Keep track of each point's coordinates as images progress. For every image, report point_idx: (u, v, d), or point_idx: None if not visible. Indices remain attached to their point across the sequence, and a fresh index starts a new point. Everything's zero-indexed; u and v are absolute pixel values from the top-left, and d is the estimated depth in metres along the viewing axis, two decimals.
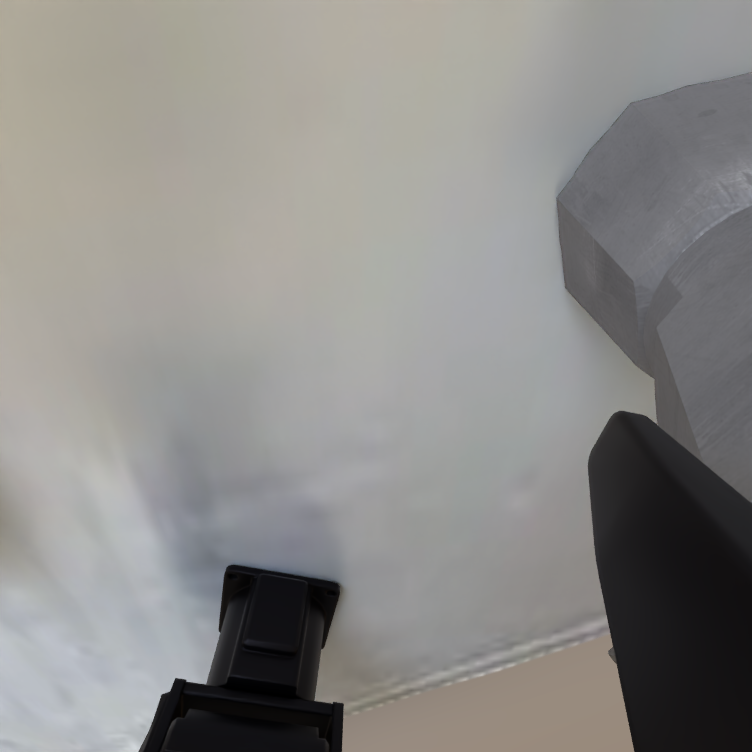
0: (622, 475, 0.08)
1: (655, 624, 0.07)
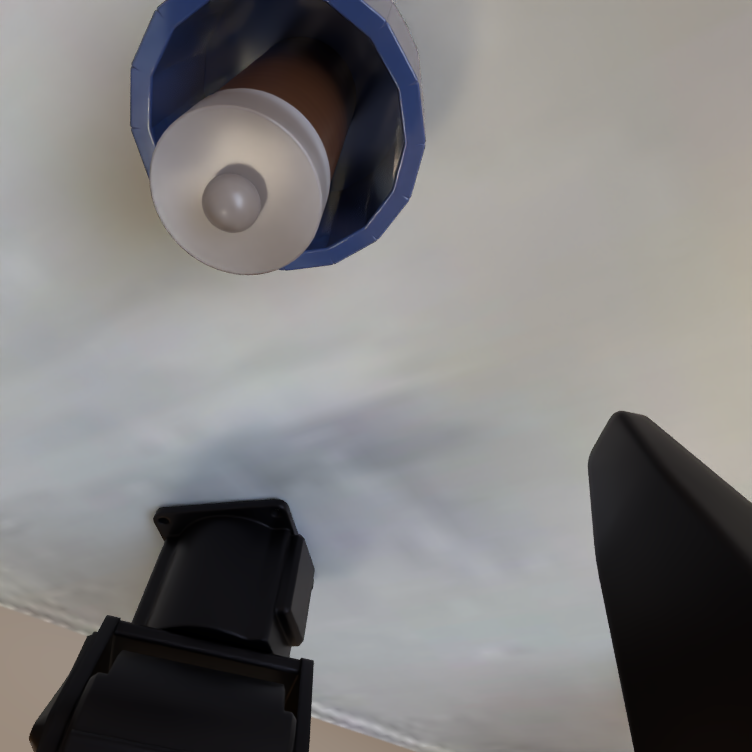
0: (622, 475, 0.08)
1: (655, 624, 0.07)
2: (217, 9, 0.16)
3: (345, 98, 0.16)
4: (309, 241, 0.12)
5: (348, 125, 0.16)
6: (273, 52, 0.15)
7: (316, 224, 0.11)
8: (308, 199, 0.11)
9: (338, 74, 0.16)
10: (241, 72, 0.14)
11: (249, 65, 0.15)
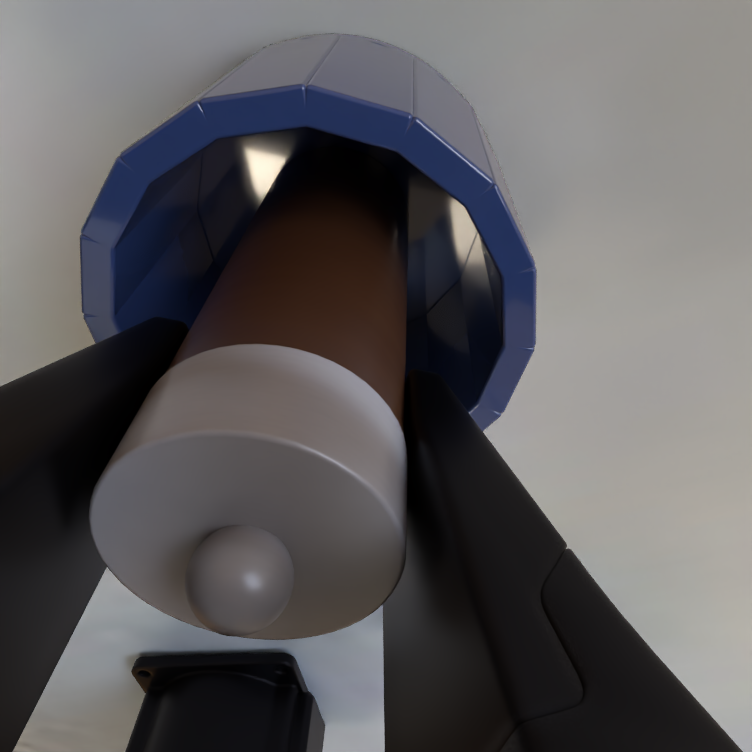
0: None
1: (402, 580, 0.07)
2: None
3: (404, 253, 0.11)
4: (376, 607, 0.07)
5: None
6: (301, 192, 0.10)
7: (391, 589, 0.06)
8: (381, 560, 0.06)
9: (393, 215, 0.11)
10: (254, 248, 0.09)
11: (265, 219, 0.10)
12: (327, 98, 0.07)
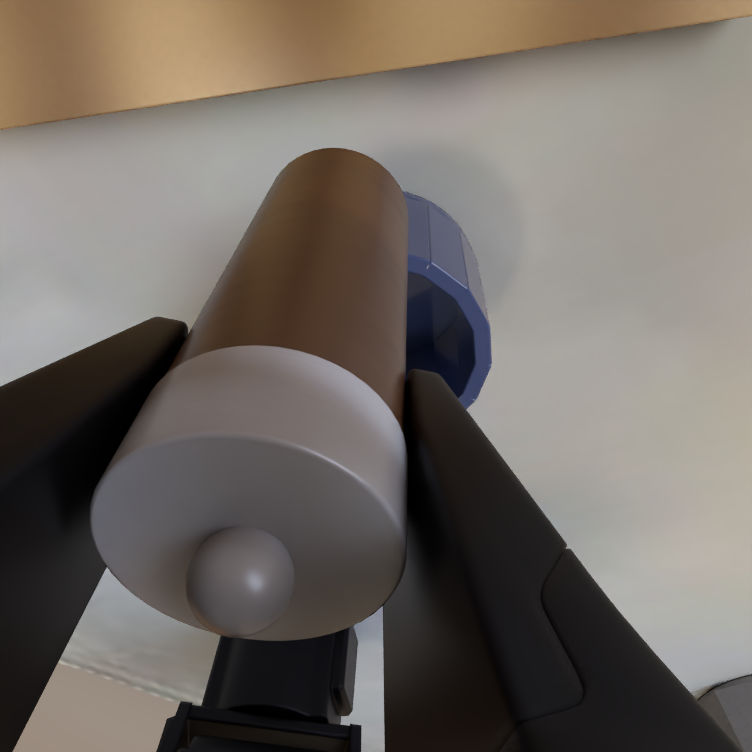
0: None
1: (402, 580, 0.07)
2: None
3: (404, 254, 0.11)
4: (376, 608, 0.07)
5: None
6: (301, 193, 0.10)
7: (391, 590, 0.06)
8: (381, 562, 0.06)
9: (393, 216, 0.11)
10: (255, 249, 0.09)
11: (265, 220, 0.10)
12: None
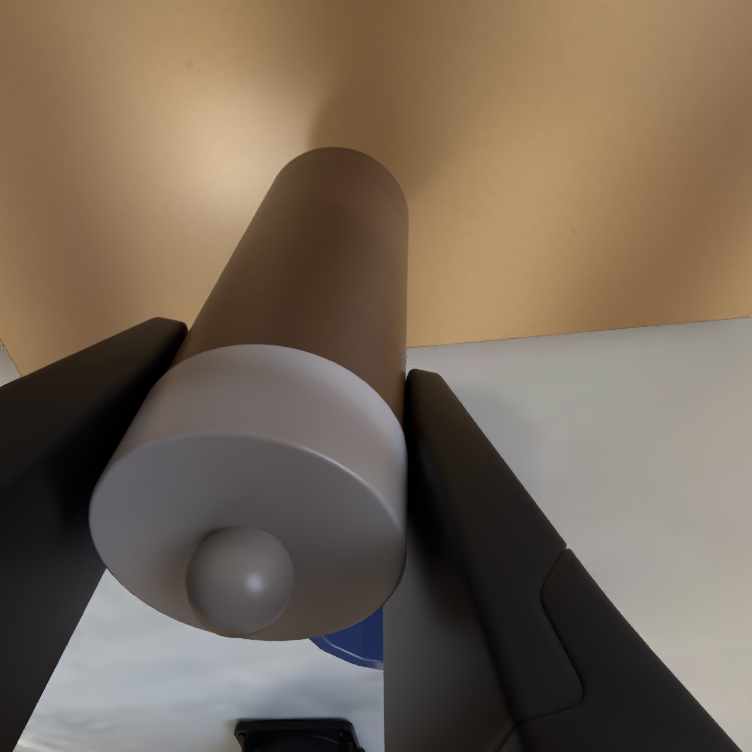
0: None
1: (402, 580, 0.07)
2: None
3: (404, 253, 0.11)
4: (376, 608, 0.06)
5: None
6: (301, 192, 0.10)
7: (392, 590, 0.06)
8: (381, 562, 0.06)
9: (393, 215, 0.11)
10: (254, 248, 0.09)
11: (265, 219, 0.10)
12: None
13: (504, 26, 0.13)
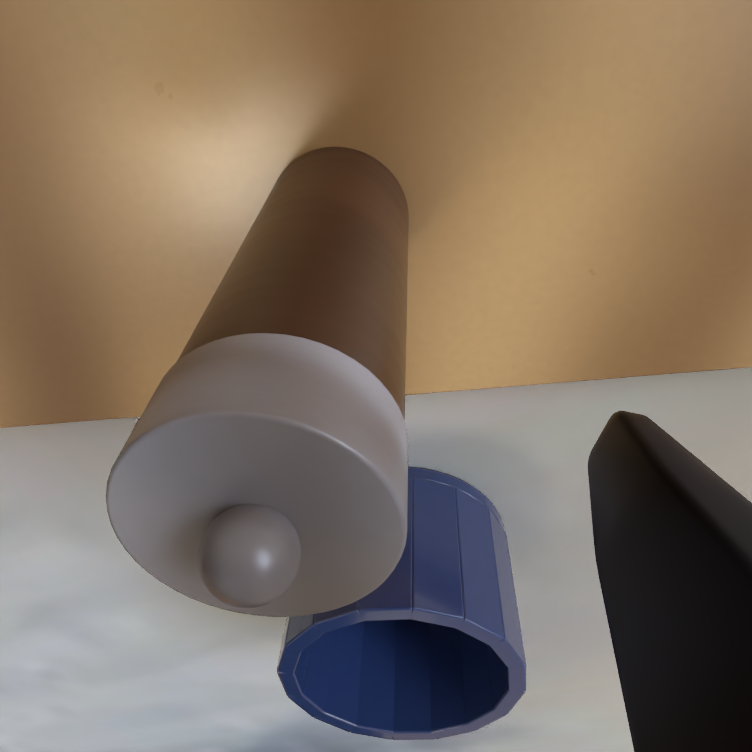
0: (622, 475, 0.08)
1: (655, 624, 0.07)
2: None
3: (404, 250, 0.11)
4: (378, 584, 0.07)
5: None
6: (304, 190, 0.10)
7: (393, 566, 0.07)
8: (382, 538, 0.06)
9: (394, 213, 0.11)
10: (260, 244, 0.09)
11: (270, 216, 0.10)
12: (422, 612, 0.15)
13: (516, 48, 0.11)
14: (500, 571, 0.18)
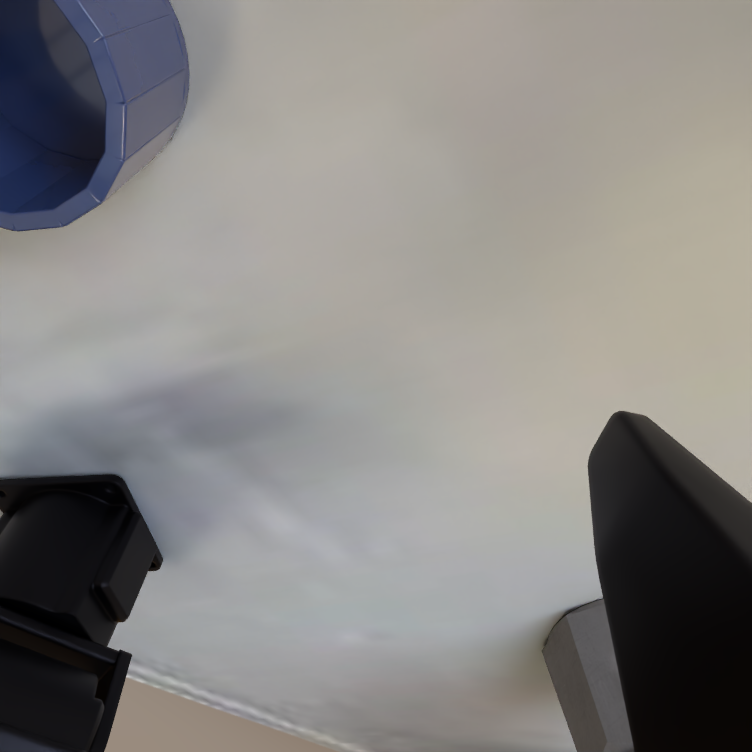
0: (622, 475, 0.08)
1: (655, 624, 0.07)
2: None
3: None
4: None
5: None
6: None
7: None
8: None
9: None
10: None
11: None
12: None
13: None
14: None
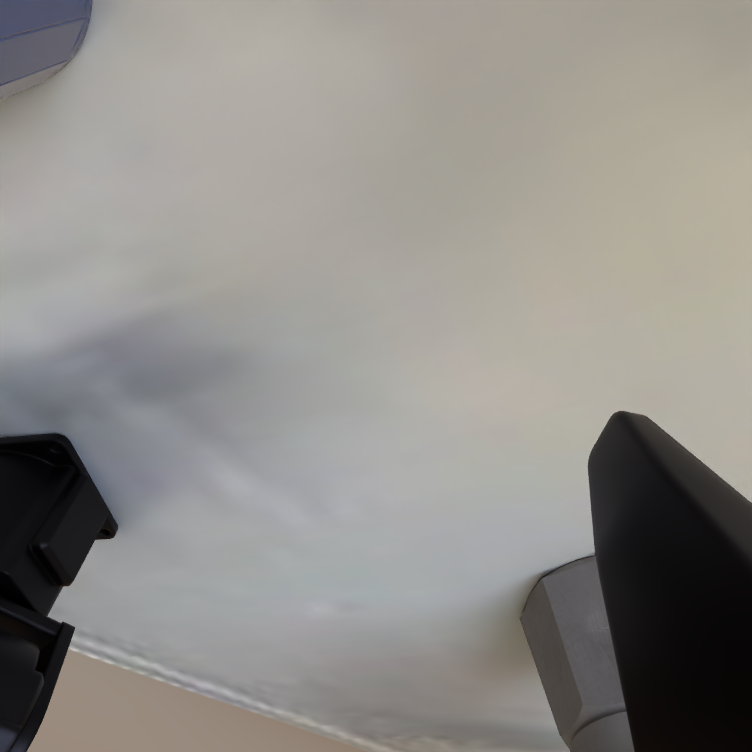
0: (622, 475, 0.08)
1: (655, 624, 0.07)
2: None
3: None
4: None
5: None
6: None
7: None
8: None
9: None
10: None
11: None
12: None
13: None
14: None
